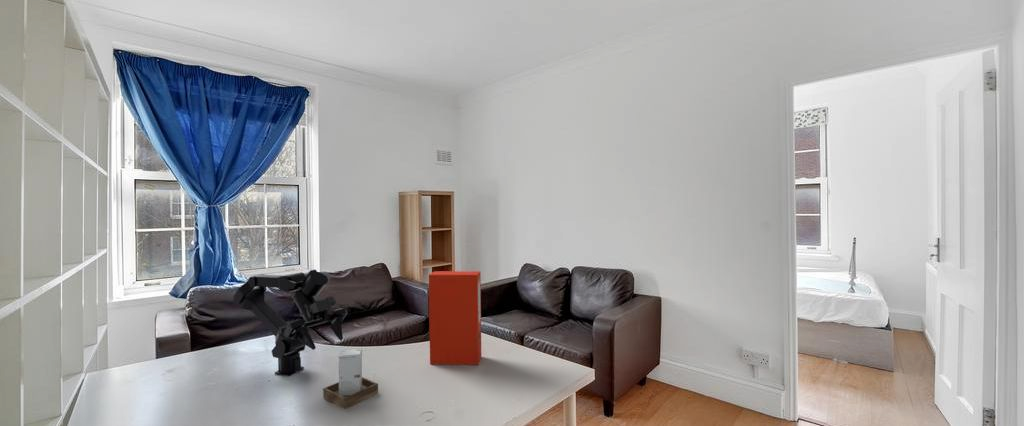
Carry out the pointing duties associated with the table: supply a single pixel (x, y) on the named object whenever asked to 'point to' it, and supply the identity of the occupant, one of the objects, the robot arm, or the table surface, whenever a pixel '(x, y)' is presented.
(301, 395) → the table surface
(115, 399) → the table surface
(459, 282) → the file binder
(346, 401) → the shallow wooden tray
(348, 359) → the skincare box
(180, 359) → the table surface
